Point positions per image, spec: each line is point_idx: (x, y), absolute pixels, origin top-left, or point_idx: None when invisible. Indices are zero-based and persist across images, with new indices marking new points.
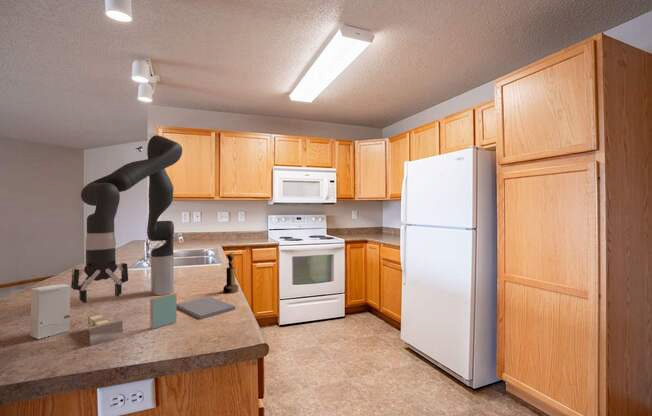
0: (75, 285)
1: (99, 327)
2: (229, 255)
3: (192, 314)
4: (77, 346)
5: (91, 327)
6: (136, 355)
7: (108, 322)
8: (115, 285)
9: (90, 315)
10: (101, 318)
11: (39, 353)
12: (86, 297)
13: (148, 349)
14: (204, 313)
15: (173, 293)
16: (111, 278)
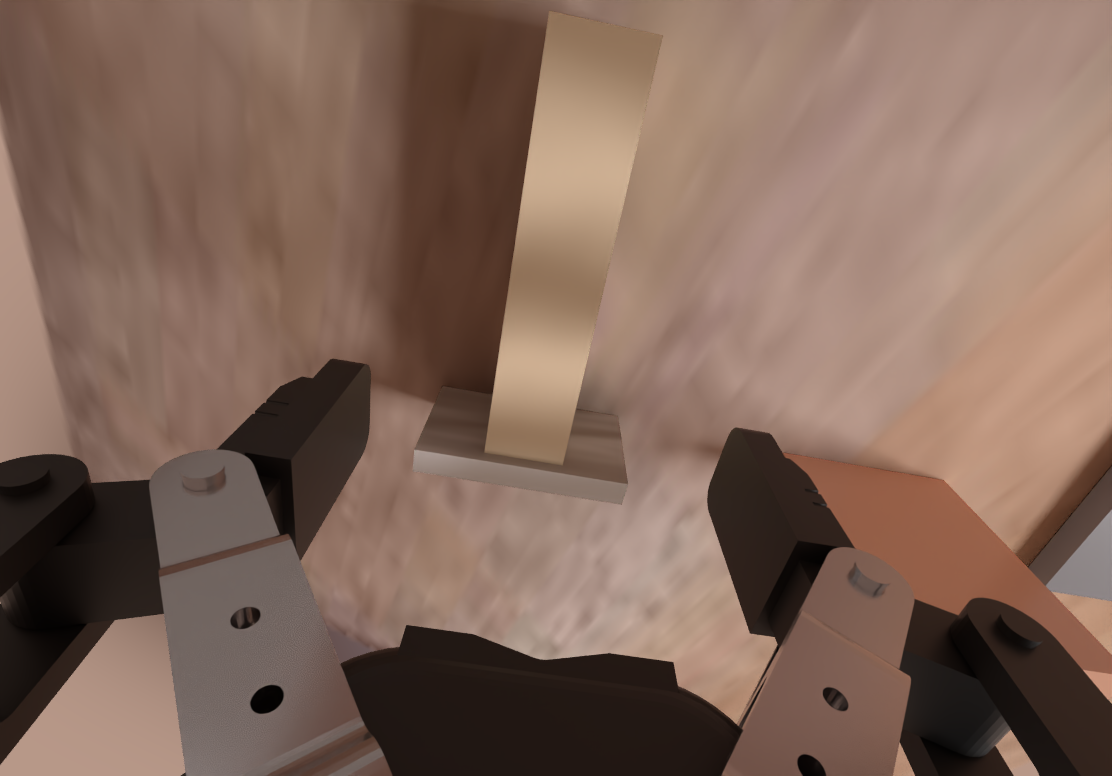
0: (26, 656)
1: (470, 475)
2: None
3: (1106, 480)
4: (384, 351)
5: (424, 456)
6: None
7: (564, 415)
8: (777, 557)
9: (572, 23)
10: (585, 259)
11: (192, 261)
12: (341, 488)
13: (586, 650)
14: (1096, 577)
15: (1109, 681)
16: (756, 694)
